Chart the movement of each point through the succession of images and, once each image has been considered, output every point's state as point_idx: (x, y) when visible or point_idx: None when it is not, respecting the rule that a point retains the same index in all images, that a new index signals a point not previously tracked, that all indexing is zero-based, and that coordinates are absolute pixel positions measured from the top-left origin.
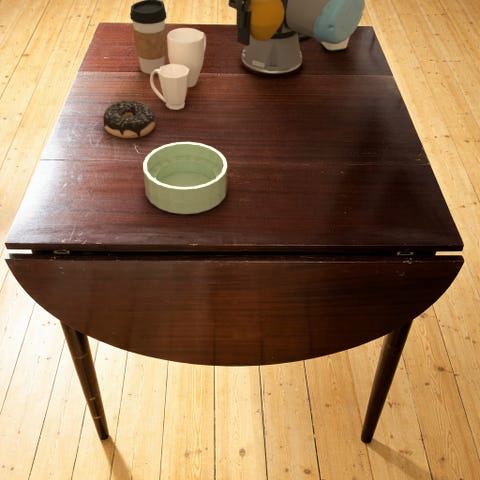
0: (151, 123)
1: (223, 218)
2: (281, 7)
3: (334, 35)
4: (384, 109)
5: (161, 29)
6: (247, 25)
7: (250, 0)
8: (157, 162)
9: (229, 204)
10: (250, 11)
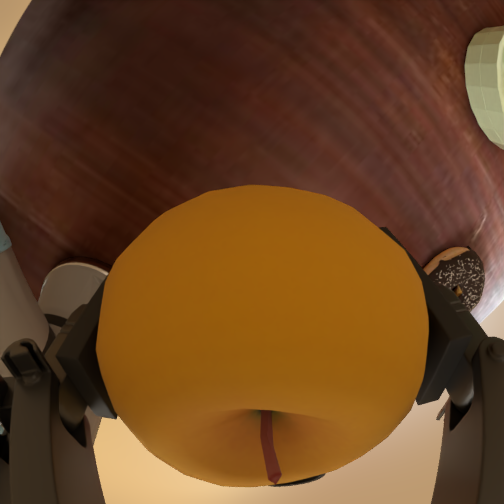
0: (449, 257)
1: (498, 12)
2: (160, 268)
3: None
4: (22, 52)
5: None
6: (431, 281)
7: (488, 399)
8: None
9: (481, 18)
10: (457, 335)
